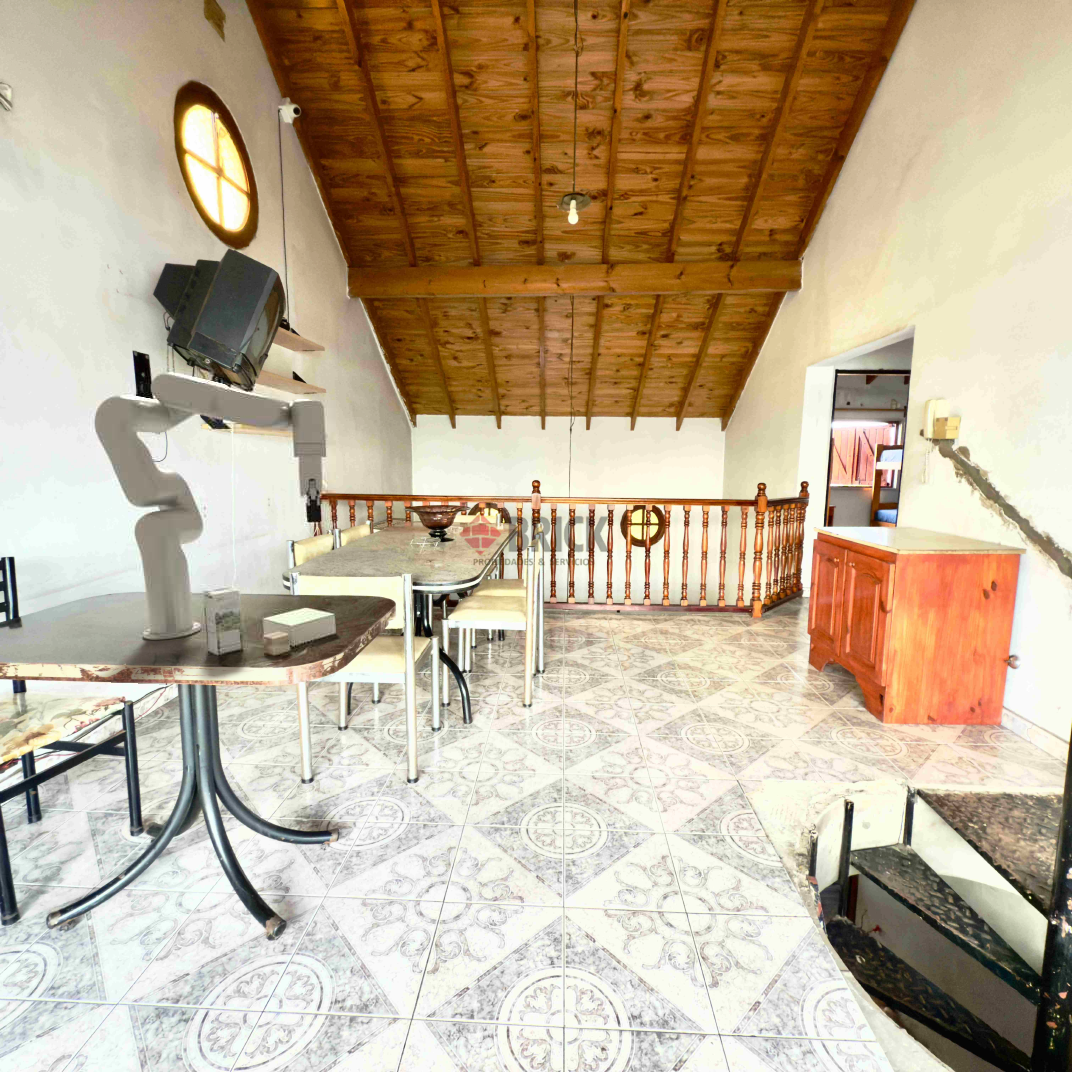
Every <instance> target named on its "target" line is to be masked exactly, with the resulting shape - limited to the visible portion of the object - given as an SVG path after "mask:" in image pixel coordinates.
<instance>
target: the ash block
mask: <svg viewBox="0 0 1072 1072" xmlns="http://www.w3.org/2000/svg"><path fill="white" fill-rule="evenodd" d="M262 642H263V652H264V653H265V654H268V655H272V656H278V655H280V654H284V653H286V652H289V651H291V646H290V641H289V634H287V633H283V632H275V633H271V634H268V635H264V634H263V635H262Z"/></svg>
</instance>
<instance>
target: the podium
mask: <svg viewBox="0 0 1072 1072" xmlns="http://www.w3.org/2000/svg"><path fill="white" fill-rule="evenodd" d="M335 615H336V614H335V613H331V612H326V611H322V610H320V609H319V610H318V609H313V608H309V607H303V608H299V609H296V610H295V609H294V610H290V611H287V612H284V613H279V614H276V615H271V616H268V617H263V618H262V624H263V625H262V626H263V627H262V628H263V636H264V635H268V634H271V633H275V632H283V633H287V634H289V641H290V645H291V646H290V647H296V646H299V645H301V643H302V644H305V643H307V642H308V641H309V642H312V641H315V640H317V639H321V638H324V637H328V636H330V635H334V634H336V633H337V632H336V631H337V630H336V629H337V627H336V616H335ZM314 639H315V640H314ZM311 640H312V641H311ZM304 642H305V643H304ZM309 642H308V643H309ZM298 644H299V645H298ZM295 645H296V646H295Z"/></svg>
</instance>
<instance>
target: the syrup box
mask: <svg viewBox="0 0 1072 1072" xmlns="http://www.w3.org/2000/svg"><path fill="white" fill-rule="evenodd" d="M202 597H203V610H204V619H205V621H204V622H205V631H206V632H205V633H206V644H207V650H208V652H210V653H211V654H214V655H216V656H222V655H226V654H228V653H234V652H237V651H240V650H243V649H244V644H243V643H244V642H243V631H242V616H241V603H240V602H241V601H240V591H239V590H238V589H236V588H234V587H231V586H225V587H220V588H212V589H207V590H203V591H202Z"/></svg>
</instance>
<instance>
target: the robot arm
mask: <svg viewBox="0 0 1072 1072" xmlns="http://www.w3.org/2000/svg"><path fill="white" fill-rule="evenodd" d="M150 391H151V394H152V396H153V397H154V399H152V398H146V397H141V396H136V395H135V396H134V395H123V394H122V395H114V396H110V397H108V398H106V399H105V400H104V401H102V403H100V405H99V406H98V407H97V409H96V412H95V415H94V429H95V434H96V435H97V438H98V440H99V442H100V444H101V446H102V447H103V449H104V451H105V453H106V455H107V458H108V459H109V461H110V463H111V466H112V469H113V471H114V473H115V475H116V478H117V481H118V482H119V485H120V487H121V490H122V492H123V493H124V496H125V498H126V500H127V501H128V502H129V503H130V504H131V505H132V506H134V507H137V508H141V509H142V508H143V509H144V508H145V509H146V508H155V507H156V508H157V507H158V510H156V511H151V512H148V513H146V514H144V515H142V516H141V517H139V519H138V520H137V522H136V523H135V525H134V537H135V538H134V539H135V541H136V543H137V548H138V550H139V554H140V556H141V557H140V558H141V562H142V570H143V576H144V577H143V578H144V586H145V595H146V604H147V613H148V622H149V628H147V629H145V630H144V631H143V632H142V635H143V638H144V639H147V640H153V641H155V640H157V641H159V640H170V639H177V638H180V637H186V636H189V635H192V634H195V633H196V632H199V631H200V630H201V629H202V625H201V623H200V622H197V621H194V613H193V605H192V604H193V603H192V595H191V593H192V592H191V583H190V582H191V581H190V574H189V573H190V571H189V565H188V560H187V556H186V555H185V552H184V550H183V549H182V546H181V545H185V544H190V543H191V542H195V541H196V540H198V539H199V538H200V536H201V535H202V534H203V530H204V522H203V518H202V515H201V513H200V510H199V508H198V505H197V503H196V501H195V498H194V496H193V494H192V491H191V489H190V487H189V485H188V483H187V481H186V480H185V478H184V477H183V476H181V474H179V473H178V472H176V471H174V470H171V469H164V468H158V467H157V465H156V464H155V460H154V459H153V456H152V454H151V452H150V450H149V448H148V447H147V445H146V443H144V442H143V440H142V439H141V438H140V437H139V436H138V435H137V432H138V433H139V432H141V433H150V434H151V433H153V434H158V433H159V434H160V433H164V432H167V431H168V432H169V430H172V429H174V428H175V427H177V426H179V425H180V424H182V423H184V422H185V421H186V420H188V419H191V418H192V417H194V416H195V415H196V414H197V415H200V416H204V417H208V418H213V419H215V420H216V419H217V420H221V421H222V420H224V421H227V422H232V423H236V424H238V425H239V424H240V425H243V426H249V427H251V428H256V429H261V430H268V431H277V432H288V431H292V443H293V444H292V445H293V447H292V448H293V458H298V476H299V477H298V478H299V481H298V482H299V495H300V497H301V499H302V498H304V496H306V502H305V508H306V509H305V511H306V512H305V513H306V521H307V523H321V522H322V509H321V508H322V507H321V505H320V497H322V495H323V493H322V492H323V462H322V461H323V460H322V459H323V458H327V442H326V441H327V440H326V438H327V437H326V422H325V406H324V404H323V402H321V401H319V400H314V399H296V400H293V402H292V401H287V400H281V399H278V398H274V397H268V396H264V395H258V394H255V393H250V392H246V391H241V390H237V389H234V388H230V387H229V386H227V385H226V384H223V383H219V382H215V381H210V380H206V379H202V378H198V377H194V376H189V375H187V374H186V375H184V374H182V373H175V372H163V373H161V374H160V373H159V374H158V375H156V376H155V377H154V378H153V379H152V381H151V384H150Z"/></svg>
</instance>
